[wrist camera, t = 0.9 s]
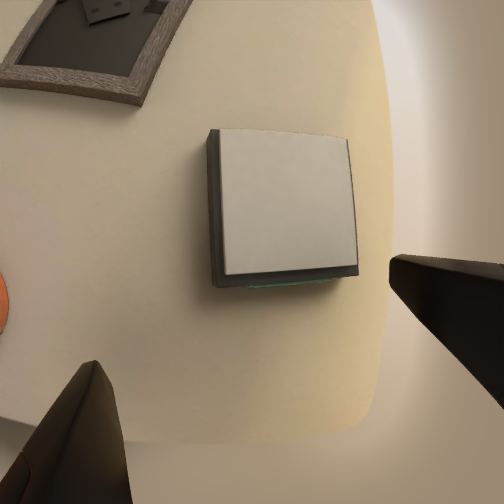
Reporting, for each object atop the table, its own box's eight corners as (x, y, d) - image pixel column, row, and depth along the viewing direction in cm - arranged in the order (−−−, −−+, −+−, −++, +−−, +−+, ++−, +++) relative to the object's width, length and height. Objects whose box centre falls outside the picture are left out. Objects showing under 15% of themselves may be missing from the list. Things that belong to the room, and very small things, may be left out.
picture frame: (94, -45, 18) (0, 86, 17) (93, -58, 16) (-9, 75, 15) (212, -33, 21) (141, 107, 20) (216, -46, 20) (139, 94, 18)
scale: (344, 277, 24) (363, 278, 21) (212, 288, 21) (218, 292, 19) (334, 146, 24) (351, 136, 21) (206, 139, 21) (211, 125, 19)
